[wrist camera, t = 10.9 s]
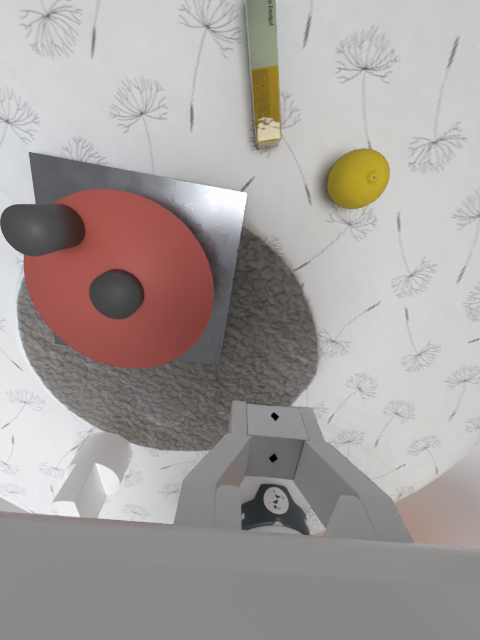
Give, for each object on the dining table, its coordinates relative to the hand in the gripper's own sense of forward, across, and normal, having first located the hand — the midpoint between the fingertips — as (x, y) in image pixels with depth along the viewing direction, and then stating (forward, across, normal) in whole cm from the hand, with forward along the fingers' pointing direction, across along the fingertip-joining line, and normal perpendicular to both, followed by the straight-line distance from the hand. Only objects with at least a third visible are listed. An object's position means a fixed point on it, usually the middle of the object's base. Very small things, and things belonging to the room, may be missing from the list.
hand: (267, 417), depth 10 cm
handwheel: (+21, +14, +3) cm, 25 cm away
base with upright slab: (+29, +22, +37) cm, 51 cm away
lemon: (+27, -10, -12) cm, 31 cm away
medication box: (+27, +1, -20) cm, 34 cm away
